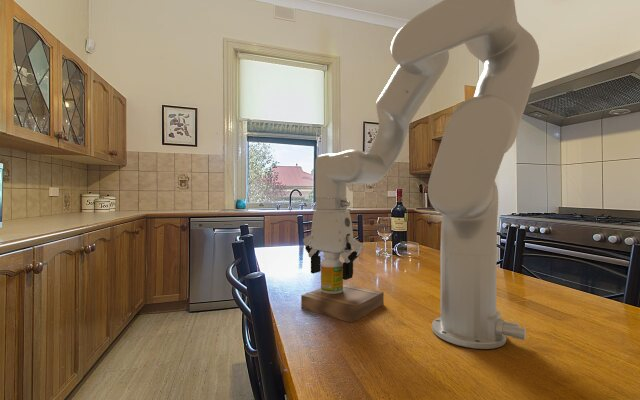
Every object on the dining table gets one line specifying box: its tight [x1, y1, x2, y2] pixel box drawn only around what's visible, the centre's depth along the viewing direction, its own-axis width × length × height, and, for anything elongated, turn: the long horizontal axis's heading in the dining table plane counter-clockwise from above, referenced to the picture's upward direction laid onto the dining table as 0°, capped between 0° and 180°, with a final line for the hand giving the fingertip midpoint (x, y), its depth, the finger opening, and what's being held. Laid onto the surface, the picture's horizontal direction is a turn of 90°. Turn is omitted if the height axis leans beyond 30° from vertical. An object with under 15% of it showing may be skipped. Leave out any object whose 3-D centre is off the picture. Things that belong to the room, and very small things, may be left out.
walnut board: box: [300, 283, 385, 323], centre depth 74 cm, size 14×14×3 cm
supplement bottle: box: [320, 252, 344, 294], centre depth 76 cm, size 5×5×10 cm
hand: (331, 275), depth 76 cm, fingers open, 9 cm apart
